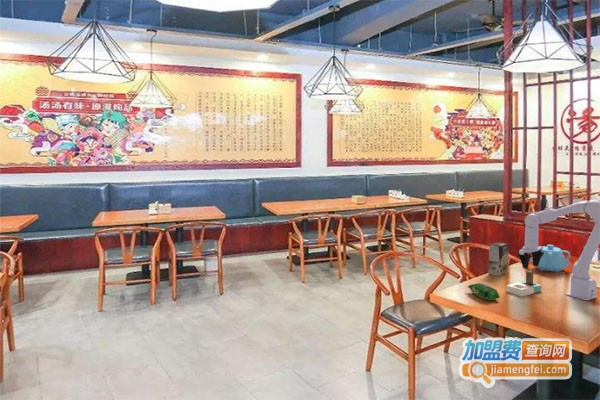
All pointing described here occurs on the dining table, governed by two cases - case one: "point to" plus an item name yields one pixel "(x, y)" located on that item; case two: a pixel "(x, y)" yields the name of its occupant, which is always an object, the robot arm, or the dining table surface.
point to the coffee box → (498, 258)
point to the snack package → (484, 291)
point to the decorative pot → (553, 259)
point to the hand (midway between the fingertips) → (530, 267)
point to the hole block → (523, 288)
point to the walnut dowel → (529, 278)
